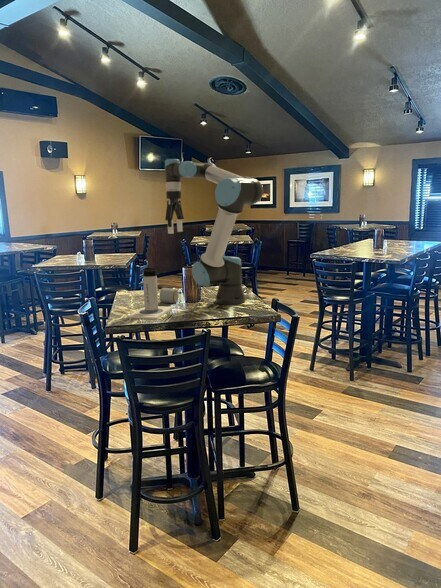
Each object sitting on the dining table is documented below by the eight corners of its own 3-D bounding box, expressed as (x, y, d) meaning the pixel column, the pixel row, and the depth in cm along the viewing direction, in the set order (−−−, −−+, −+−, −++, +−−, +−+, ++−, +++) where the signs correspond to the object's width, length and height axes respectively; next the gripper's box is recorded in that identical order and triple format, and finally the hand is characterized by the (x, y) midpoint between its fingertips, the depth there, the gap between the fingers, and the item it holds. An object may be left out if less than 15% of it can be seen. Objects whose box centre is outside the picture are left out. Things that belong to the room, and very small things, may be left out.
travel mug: (154, 308, 207) (152, 266, 203) (160, 311, 202) (158, 268, 198) (142, 310, 204) (140, 268, 200) (148, 313, 198) (146, 269, 194)
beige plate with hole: (173, 308, 211) (173, 306, 210) (157, 319, 192) (156, 317, 192) (146, 307, 214) (146, 305, 214) (127, 317, 195) (127, 315, 195)
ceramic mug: (174, 304, 219) (174, 289, 217) (159, 303, 221) (158, 288, 220) (181, 300, 229) (181, 285, 227) (167, 299, 231) (166, 285, 230)
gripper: (175, 191, 236) (176, 231, 240) (157, 190, 213) (159, 234, 217) (188, 191, 234) (189, 230, 239) (171, 190, 211) (173, 234, 215)
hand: (175, 232), depth 228 cm, fingers open, 13 cm apart
